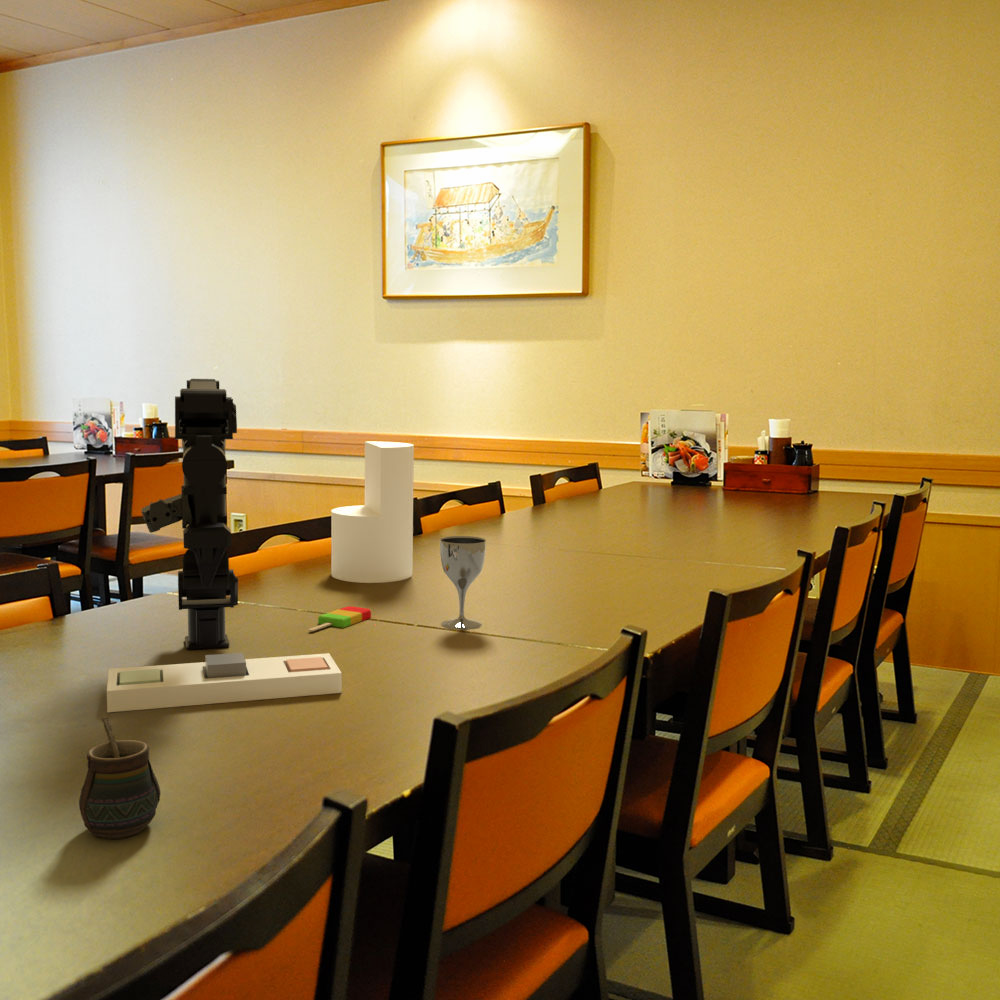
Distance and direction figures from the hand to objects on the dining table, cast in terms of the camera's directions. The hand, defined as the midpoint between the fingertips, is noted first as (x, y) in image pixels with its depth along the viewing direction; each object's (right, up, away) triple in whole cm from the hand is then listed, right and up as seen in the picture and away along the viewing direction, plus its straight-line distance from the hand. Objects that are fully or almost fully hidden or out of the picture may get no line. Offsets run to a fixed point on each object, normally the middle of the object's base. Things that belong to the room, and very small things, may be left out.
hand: (206, 586), depth 147 cm
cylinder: (+15, -4, +74) cm, 75 cm away
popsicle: (+14, -10, +31) cm, 35 cm away
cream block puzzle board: (+5, -14, -7) cm, 16 cm away
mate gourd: (+5, -19, -48) cm, 52 cm away
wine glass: (+35, -10, +33) cm, 49 cm away
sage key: (-6, -13, -10) cm, 18 cm away
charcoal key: (+5, -12, -7) cm, 14 cm away
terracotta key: (+15, -13, -3) cm, 20 cm away
